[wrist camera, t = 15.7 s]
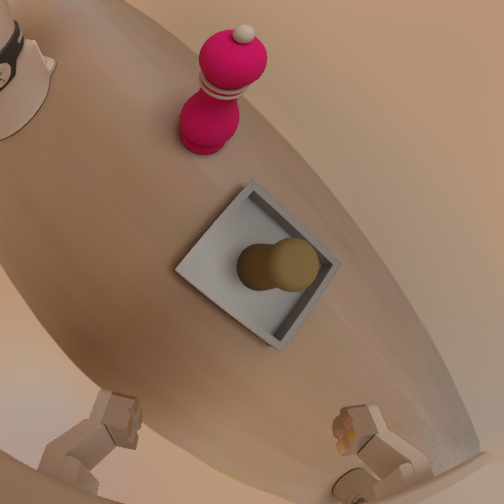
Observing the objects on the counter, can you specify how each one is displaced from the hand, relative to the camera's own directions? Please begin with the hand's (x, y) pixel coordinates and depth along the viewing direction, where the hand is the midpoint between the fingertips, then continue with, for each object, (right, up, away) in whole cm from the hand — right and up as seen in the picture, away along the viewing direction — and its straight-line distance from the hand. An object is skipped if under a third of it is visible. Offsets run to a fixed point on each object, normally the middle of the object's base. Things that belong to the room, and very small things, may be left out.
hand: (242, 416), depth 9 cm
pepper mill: (-6, +22, +26) cm, 35 cm away
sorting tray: (+1, +4, +27) cm, 27 cm away
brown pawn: (+1, +4, +26) cm, 26 cm away
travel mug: (+20, -40, +29) cm, 54 cm away
